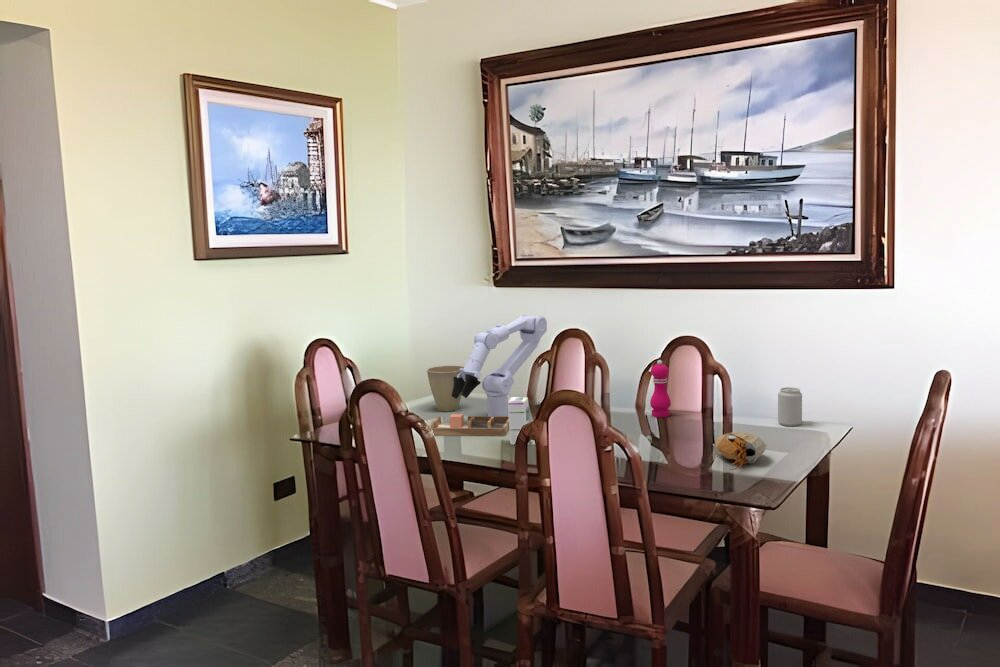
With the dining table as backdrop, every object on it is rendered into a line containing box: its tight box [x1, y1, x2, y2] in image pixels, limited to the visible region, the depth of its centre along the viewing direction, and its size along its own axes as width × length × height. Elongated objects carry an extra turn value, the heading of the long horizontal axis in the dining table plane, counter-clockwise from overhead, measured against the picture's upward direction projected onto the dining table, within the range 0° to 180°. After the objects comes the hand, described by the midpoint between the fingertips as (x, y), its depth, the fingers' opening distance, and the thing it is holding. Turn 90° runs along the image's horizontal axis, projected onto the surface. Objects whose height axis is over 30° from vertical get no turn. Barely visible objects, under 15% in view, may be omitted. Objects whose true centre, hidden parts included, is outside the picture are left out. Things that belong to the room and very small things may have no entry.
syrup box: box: [508, 396, 530, 446], centre depth 259 cm, size 6×6×14 cm
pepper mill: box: [649, 359, 672, 418], centre depth 285 cm, size 7×7×20 cm
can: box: [777, 386, 803, 427], centre depth 267 cm, size 8×8×12 cm
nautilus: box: [714, 431, 767, 470], centre depth 230 cm, size 8×22×15 cm
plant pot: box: [426, 365, 464, 412], centre depth 309 cm, size 15×15×16 cm
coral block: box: [449, 413, 465, 428], centre depth 281 cm, size 4×4×4 cm
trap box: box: [428, 415, 509, 437], centre depth 277 cm, size 17×27×3 cm, turn 80°
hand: (458, 397), depth 278 cm, fingers open, 7 cm apart
